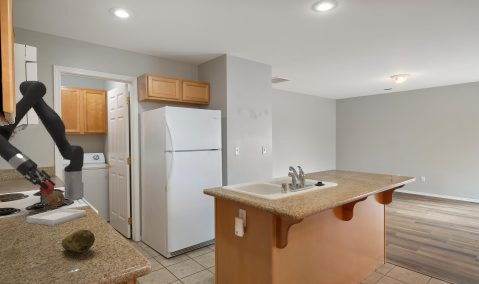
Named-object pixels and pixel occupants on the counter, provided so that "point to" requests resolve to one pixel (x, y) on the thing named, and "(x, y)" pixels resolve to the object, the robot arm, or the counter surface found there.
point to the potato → (79, 241)
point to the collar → (41, 210)
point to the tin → (53, 198)
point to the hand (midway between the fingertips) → (50, 187)
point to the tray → (56, 216)
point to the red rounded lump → (49, 190)
